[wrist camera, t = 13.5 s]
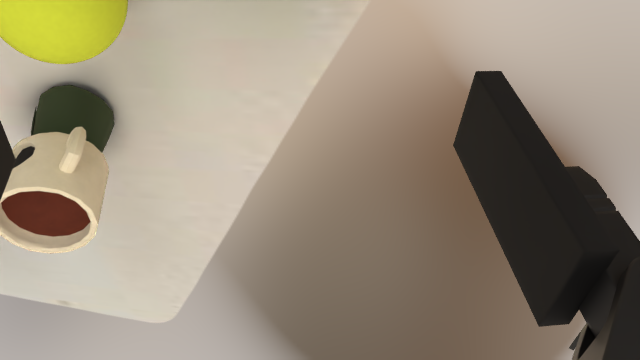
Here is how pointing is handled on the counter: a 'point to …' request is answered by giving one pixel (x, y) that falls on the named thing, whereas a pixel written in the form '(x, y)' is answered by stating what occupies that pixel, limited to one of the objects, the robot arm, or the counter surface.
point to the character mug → (58, 173)
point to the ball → (61, 27)
